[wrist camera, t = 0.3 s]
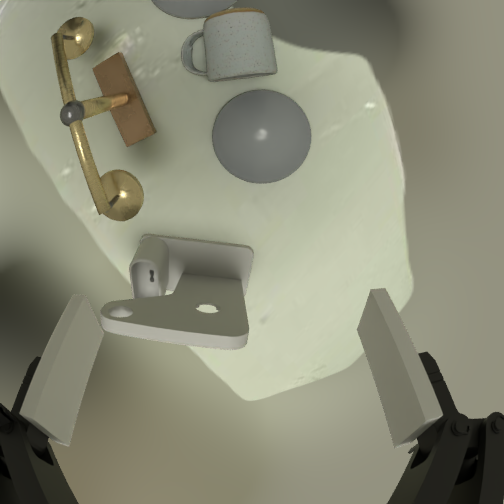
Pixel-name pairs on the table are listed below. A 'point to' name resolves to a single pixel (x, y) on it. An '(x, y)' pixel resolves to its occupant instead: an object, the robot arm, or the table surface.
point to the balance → (115, 99)
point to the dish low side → (193, 7)
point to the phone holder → (185, 293)
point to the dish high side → (261, 136)
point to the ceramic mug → (234, 45)
